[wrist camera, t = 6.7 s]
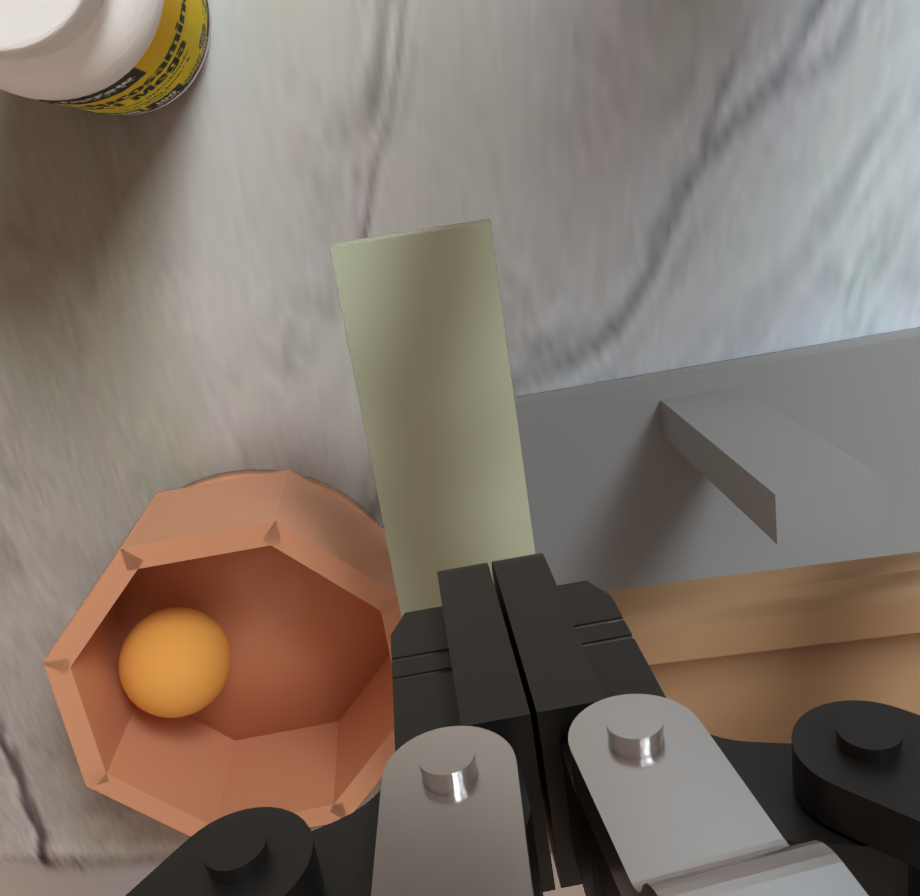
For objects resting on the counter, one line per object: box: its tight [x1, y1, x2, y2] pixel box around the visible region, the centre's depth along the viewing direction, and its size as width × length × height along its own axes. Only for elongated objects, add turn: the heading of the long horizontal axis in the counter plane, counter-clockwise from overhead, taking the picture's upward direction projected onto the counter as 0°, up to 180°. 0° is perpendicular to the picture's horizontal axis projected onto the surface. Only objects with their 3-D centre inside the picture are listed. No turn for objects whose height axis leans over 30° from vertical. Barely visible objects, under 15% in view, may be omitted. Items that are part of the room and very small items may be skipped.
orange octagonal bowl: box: [43, 469, 402, 837], centre depth 33 cm, size 12×12×6 cm
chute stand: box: [514, 327, 920, 591], centre depth 31 cm, size 22×14×11 cm, turn 99°
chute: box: [330, 219, 920, 853], centre depth 25 cm, size 24×18×4 cm
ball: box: [118, 607, 232, 718], centre depth 33 cm, size 4×4×4 cm
